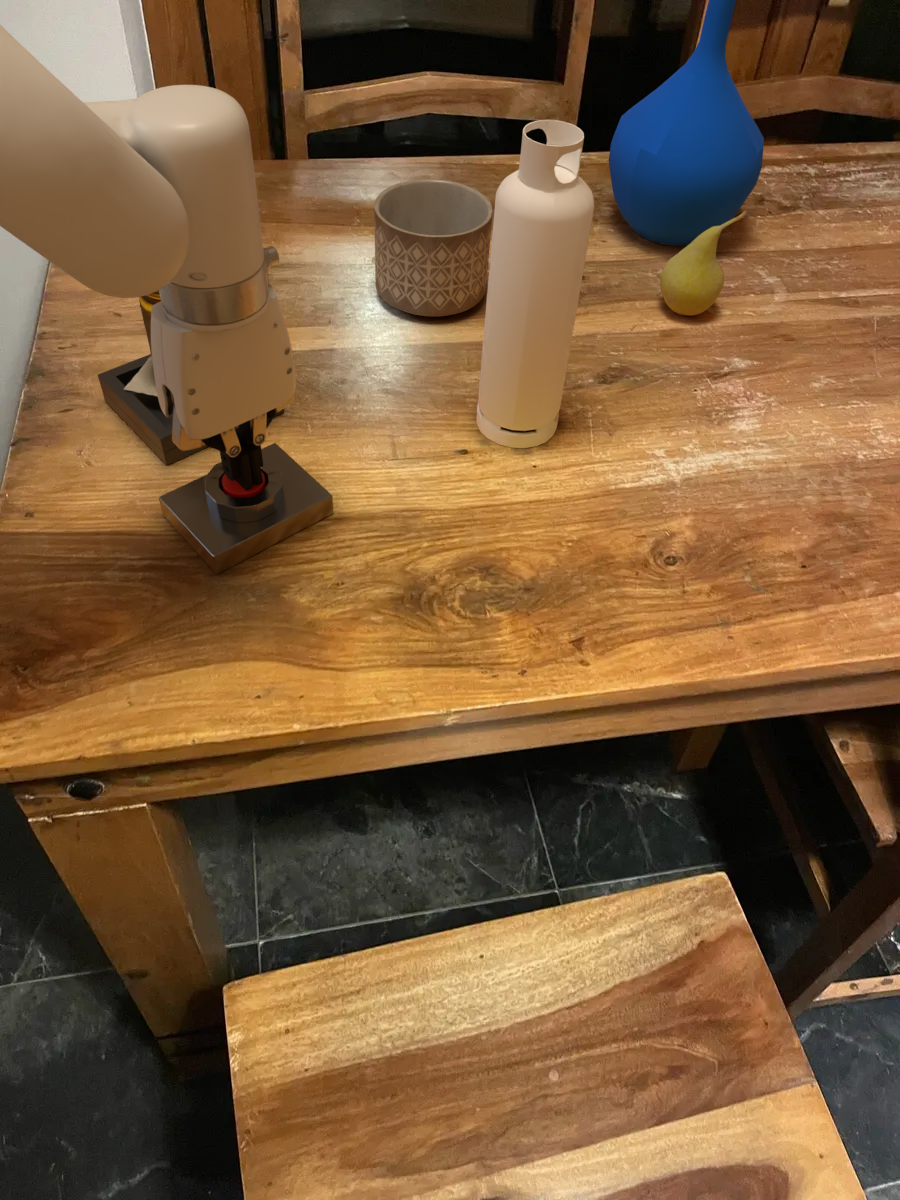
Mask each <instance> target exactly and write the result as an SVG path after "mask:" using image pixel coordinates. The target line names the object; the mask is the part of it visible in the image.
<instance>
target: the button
mask: <svg viewBox="0 0 900 1200" xmlns="http://www.w3.org/2000/svg"><path fill="white" fill-rule="evenodd" d="M261 472H262V471H261ZM262 479H263V483H261V484H259V485H256V484H255V485H254V484H253V486H252V488H251V489H249V490H247V491H246V490H245V489H244V488H243V487H242V486H241V485H240V484H239V483H238V482H237V481H236V480H234V481H231V480H230V479H229V478H228V477H227V476H226V475H225V474H224V476H223V478H222V485H223V491H224V493H225V494H226V495H229V496H232V497H236V498H243V497H252V496H254V495H256V494H258V493H260V492H262V491H263V490H264V488H265V487H266V483H265V477H264V474H263V472H262Z"/></svg>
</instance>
